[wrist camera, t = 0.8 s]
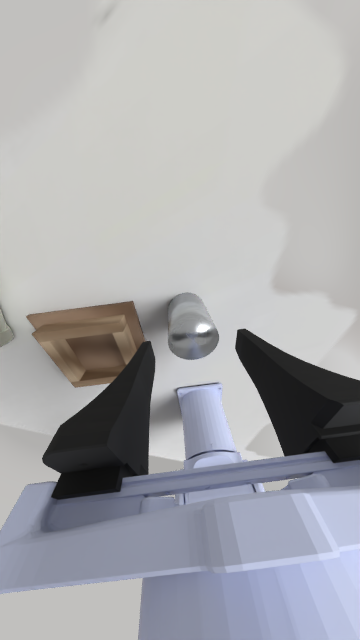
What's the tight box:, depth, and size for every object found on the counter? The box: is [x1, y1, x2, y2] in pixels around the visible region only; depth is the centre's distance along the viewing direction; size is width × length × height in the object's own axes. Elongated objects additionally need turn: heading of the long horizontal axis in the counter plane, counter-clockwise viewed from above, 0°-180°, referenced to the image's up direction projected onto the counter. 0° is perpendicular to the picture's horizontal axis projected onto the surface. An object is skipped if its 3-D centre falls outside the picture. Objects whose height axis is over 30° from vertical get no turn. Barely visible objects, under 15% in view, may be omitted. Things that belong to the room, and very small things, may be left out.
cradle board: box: [26, 301, 145, 388], centre depth 19 cm, size 12×12×3 cm
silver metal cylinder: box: [168, 293, 219, 360], centre depth 15 cm, size 4×4×6 cm
